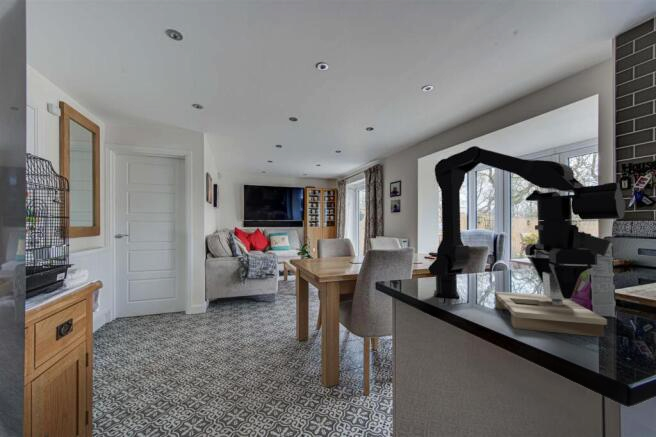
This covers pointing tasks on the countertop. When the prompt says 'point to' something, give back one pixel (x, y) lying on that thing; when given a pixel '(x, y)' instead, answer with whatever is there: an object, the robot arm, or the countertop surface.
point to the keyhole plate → (549, 314)
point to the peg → (552, 289)
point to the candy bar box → (598, 286)
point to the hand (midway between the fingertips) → (557, 293)
